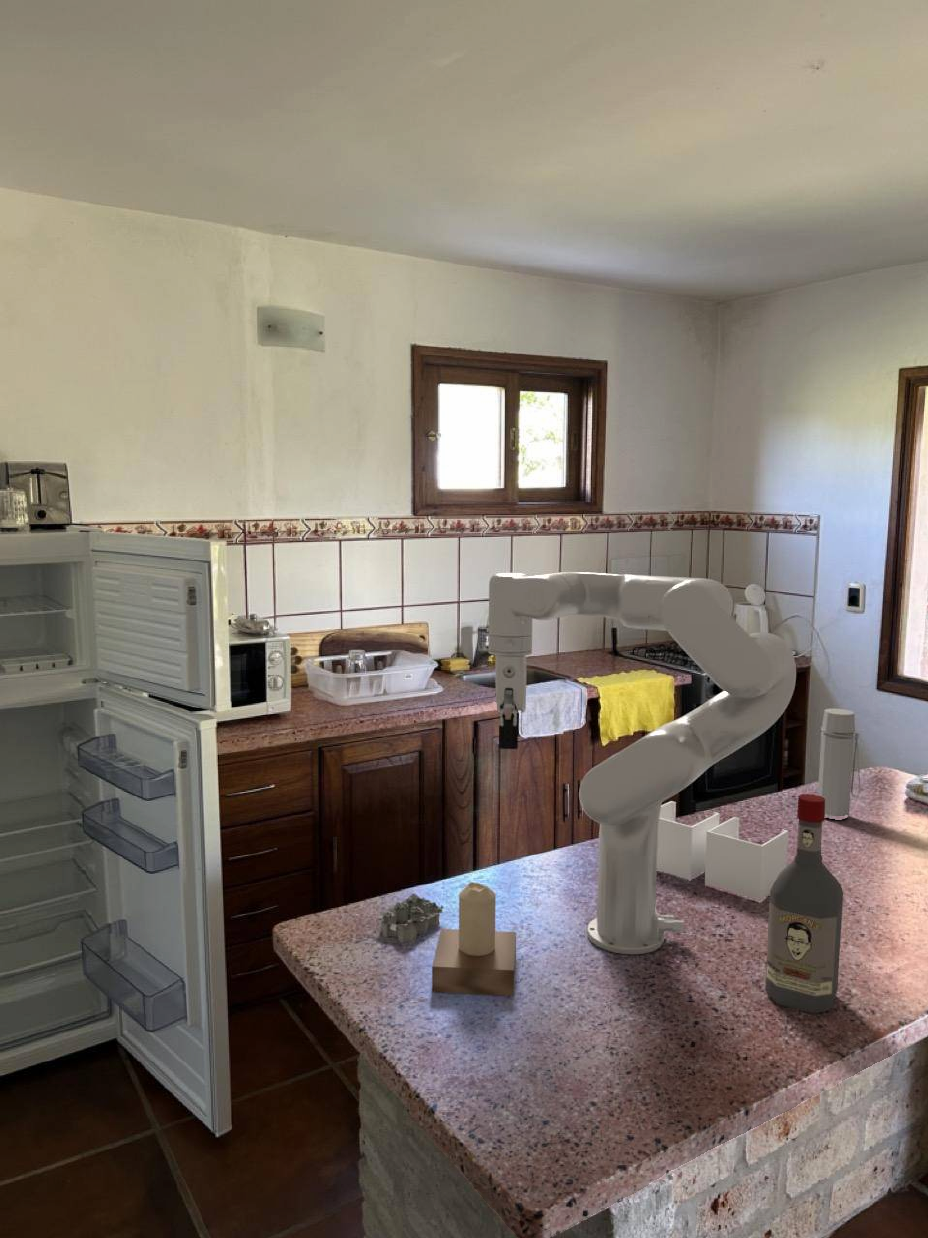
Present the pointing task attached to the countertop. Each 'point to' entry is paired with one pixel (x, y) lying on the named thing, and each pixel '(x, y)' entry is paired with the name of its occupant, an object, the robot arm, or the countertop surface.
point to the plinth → (474, 966)
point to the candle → (476, 920)
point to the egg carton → (420, 918)
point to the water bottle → (837, 761)
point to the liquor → (805, 921)
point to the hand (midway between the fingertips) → (509, 741)
